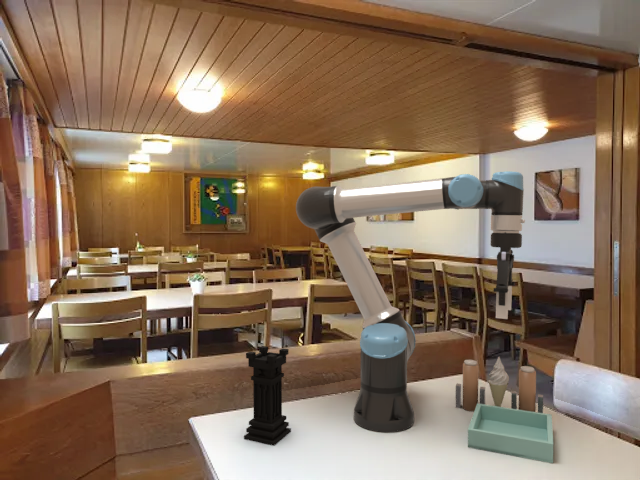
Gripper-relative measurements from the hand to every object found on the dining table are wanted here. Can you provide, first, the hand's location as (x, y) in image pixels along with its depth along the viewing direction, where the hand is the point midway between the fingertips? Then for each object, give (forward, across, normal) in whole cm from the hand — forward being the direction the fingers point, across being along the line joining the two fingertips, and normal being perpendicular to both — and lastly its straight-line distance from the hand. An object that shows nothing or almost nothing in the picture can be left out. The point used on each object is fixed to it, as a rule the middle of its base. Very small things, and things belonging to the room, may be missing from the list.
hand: (503, 313), depth 123 cm
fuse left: (+26, 0, +8) cm, 28 cm away
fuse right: (+26, 0, -6) cm, 27 cm away
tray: (+26, -15, -3) cm, 30 cm away
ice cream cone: (+26, 0, +1) cm, 27 cm away
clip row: (+26, 0, +1) cm, 26 cm away
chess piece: (+28, -37, +48) cm, 67 cm away
